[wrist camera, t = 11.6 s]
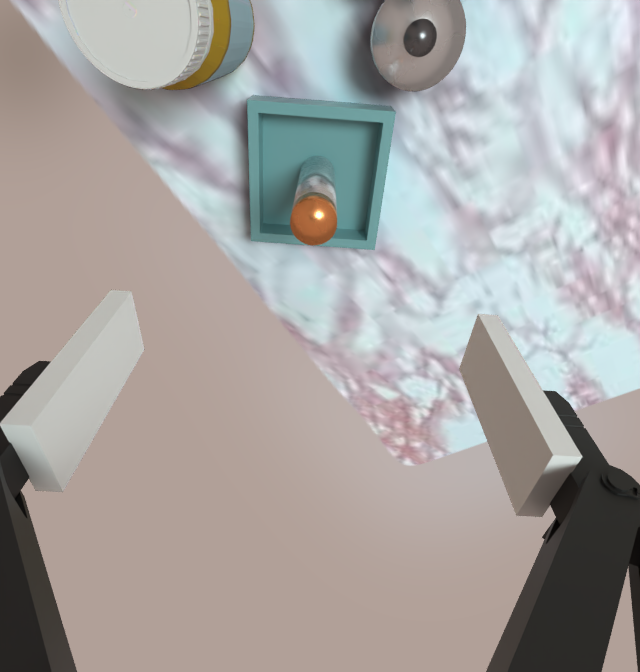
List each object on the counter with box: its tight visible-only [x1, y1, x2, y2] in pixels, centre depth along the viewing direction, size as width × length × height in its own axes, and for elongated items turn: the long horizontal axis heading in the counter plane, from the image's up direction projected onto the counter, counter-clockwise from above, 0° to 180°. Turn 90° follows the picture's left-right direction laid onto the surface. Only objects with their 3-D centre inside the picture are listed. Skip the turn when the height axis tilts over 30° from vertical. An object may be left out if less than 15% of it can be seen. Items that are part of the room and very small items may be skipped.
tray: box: [247, 95, 396, 250], centre depth 36 cm, size 11×11×3 cm
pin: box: [290, 156, 337, 245], centre depth 32 cm, size 3×3×12 cm
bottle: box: [58, 0, 254, 90], centre depth 25 cm, size 7×7×15 cm
